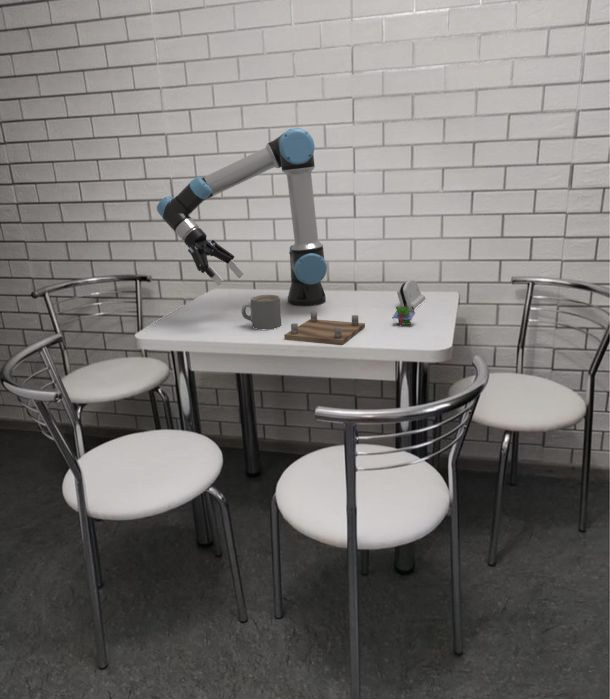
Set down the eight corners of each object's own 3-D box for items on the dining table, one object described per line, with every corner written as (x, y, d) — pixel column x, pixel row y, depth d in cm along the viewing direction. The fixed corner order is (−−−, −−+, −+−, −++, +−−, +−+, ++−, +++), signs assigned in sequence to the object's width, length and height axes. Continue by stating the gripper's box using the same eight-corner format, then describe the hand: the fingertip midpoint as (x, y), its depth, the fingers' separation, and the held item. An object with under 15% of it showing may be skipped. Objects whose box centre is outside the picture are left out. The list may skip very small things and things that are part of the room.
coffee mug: (285, 322, 212) (283, 295, 209) (274, 330, 204) (273, 301, 200) (250, 321, 217) (248, 293, 214) (238, 328, 208) (236, 300, 205)
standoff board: (310, 323, 210) (310, 310, 209) (364, 327, 202) (364, 314, 201) (284, 339, 193) (283, 325, 192) (342, 344, 185) (342, 330, 184)
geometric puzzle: (407, 323, 197) (413, 301, 199) (388, 321, 200) (393, 299, 202) (413, 331, 203) (418, 309, 205) (394, 329, 206) (399, 308, 208)
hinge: (415, 310, 221) (406, 284, 220) (403, 313, 223) (394, 288, 222) (426, 299, 235) (418, 275, 234) (415, 303, 238) (406, 279, 236)
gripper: (206, 237, 224) (243, 279, 222) (164, 247, 203) (205, 293, 201) (217, 223, 220) (255, 265, 218) (175, 231, 199) (217, 278, 197)
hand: (231, 279), depth 210 cm, fingers open, 13 cm apart
